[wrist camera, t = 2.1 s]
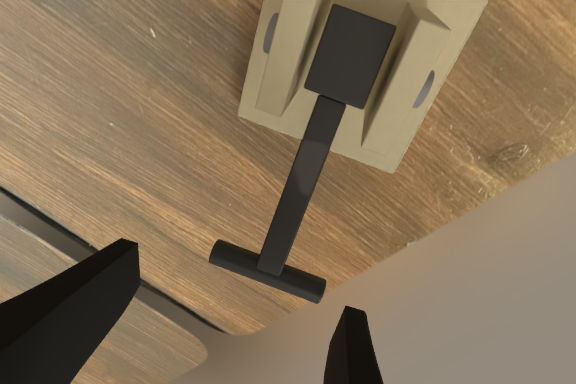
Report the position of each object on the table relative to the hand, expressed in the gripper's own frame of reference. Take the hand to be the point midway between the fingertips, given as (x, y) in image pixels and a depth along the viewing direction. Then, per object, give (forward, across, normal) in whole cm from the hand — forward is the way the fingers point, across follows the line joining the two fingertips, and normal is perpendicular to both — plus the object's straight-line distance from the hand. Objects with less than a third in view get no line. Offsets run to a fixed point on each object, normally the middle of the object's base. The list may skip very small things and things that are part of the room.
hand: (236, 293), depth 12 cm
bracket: (+11, -2, -7) cm, 13 cm away
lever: (+6, -1, -3) cm, 6 cm away
